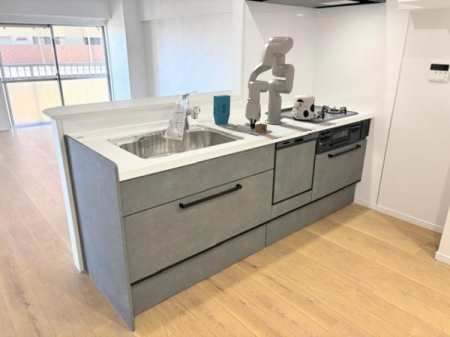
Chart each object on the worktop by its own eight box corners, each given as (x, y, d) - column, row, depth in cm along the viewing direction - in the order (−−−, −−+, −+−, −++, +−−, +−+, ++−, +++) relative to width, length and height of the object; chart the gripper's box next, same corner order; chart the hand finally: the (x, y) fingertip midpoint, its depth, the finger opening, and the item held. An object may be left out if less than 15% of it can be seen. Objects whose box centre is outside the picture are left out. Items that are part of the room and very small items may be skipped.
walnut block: (260, 130, 221) (261, 123, 220) (266, 132, 218) (266, 124, 216) (255, 131, 218) (256, 124, 216) (261, 133, 215) (262, 125, 213)
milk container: (287, 119, 263) (289, 96, 257) (297, 116, 275) (300, 94, 269) (306, 122, 252) (309, 98, 246) (317, 119, 265) (320, 96, 259)
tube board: (245, 125, 238) (245, 121, 237) (271, 131, 222) (272, 127, 221) (229, 128, 228) (229, 124, 226) (256, 135, 212) (256, 130, 211)
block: (216, 125, 237) (217, 96, 230) (212, 123, 241) (213, 95, 234) (230, 123, 244) (231, 95, 237) (226, 122, 247) (226, 94, 240)
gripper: (241, 100, 219) (240, 127, 226) (259, 103, 210) (257, 131, 216) (249, 99, 224) (247, 126, 231) (266, 102, 215) (264, 129, 221)
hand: (252, 128), depth 223 cm, fingers closed
